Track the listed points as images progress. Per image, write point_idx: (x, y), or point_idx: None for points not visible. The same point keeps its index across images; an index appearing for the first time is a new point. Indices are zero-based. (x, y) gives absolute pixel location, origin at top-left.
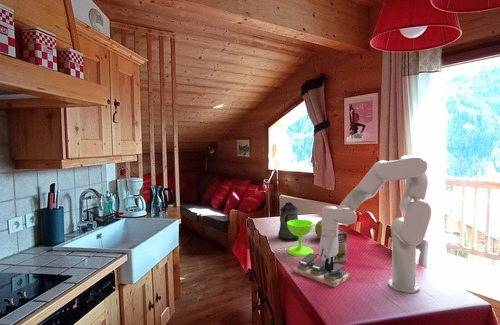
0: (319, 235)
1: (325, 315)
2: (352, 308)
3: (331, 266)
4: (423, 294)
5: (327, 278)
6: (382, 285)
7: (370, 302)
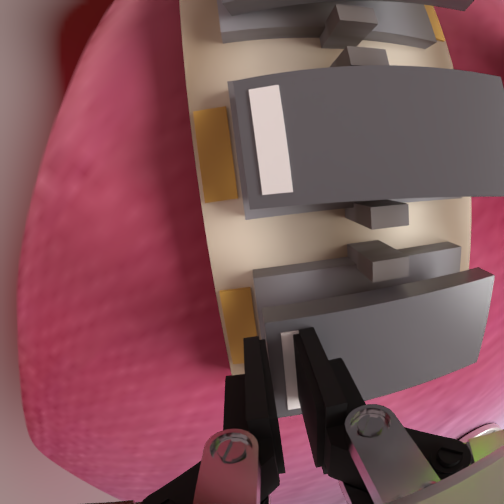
0: None
1: (42, 442)
2: (158, 486)
3: (306, 422)
4: None
5: (252, 316)
6: None
7: None
